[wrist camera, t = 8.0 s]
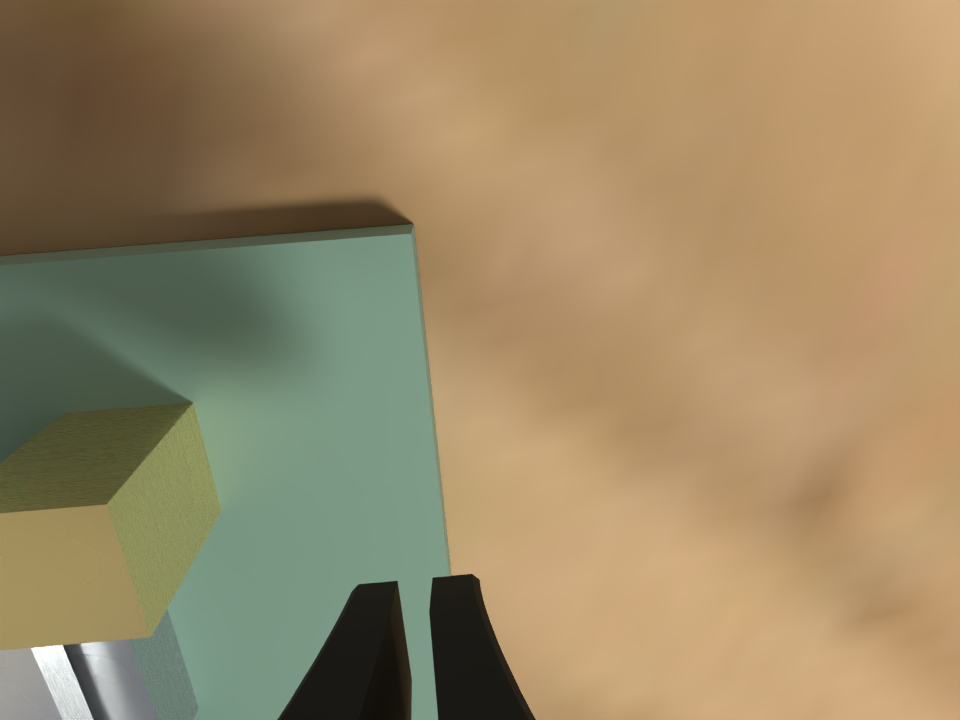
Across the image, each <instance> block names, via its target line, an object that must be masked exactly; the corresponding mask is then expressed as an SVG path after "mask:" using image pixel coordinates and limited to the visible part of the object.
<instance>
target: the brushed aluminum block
mask: <svg viewBox="0 0 960 720" xmlns="http://www.w3.org/2000/svg"><path fill="white" fill-rule="evenodd" d="M63 647H64V650H65V652H66V655H67V657H68V659H69V662H70V664H71V666H72V669H73V671H74V674H75V676H76V678H77V681H78V683H79V686H80V688H81V690H82V693H83V695H84V698H85V700H86V702H87V705H88V707H89V710H90V712H91V714H92V717H93V719H94V720H194V718H195V715H196V713H197V711H198V708H199V706H198V703H197V700H196V697H195V694H194V690H193V687H192V684H191V681H190V678H189V675H188V672H187V669H186V665H185V662H184V659H183V656H182V653H181V650H180V647H179V643H178V640H177V637H176V634H175V631H174V628H173V625H172V621H171V618H170V615H169V612H168V609H167V610H166V612H165V613H164V615H163V617H162V619H161V621H160V622H159V624H158V626H157V628H156V630H155V631H154V633H153V635H152V637H149V638H138V639H126V640H115V641H103V642H92V643H81V644H69V645H63Z"/></svg>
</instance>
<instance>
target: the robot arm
mask: <svg viewBox="0 0 960 720" xmlns="http://www.w3.org/2000/svg"><path fill="white" fill-rule="evenodd" d="M429 615H430V627H431V640H432V652H433V664H434V675H435V687H436V699H437V711H438V720H535V718H534V716H533V714H532V712H531V710H530V709H529V707H528V705H527V703H526V701H525V699H524V697H523V695H522V693H521V691H520V689H519V687H518V685H517V683H516V681H515V679H514V676H513V674H512V672H511V670H510V668H509V666H508V664H507V662H506V660H505V657H504V655H503V653H502V651H501V648H500V646H499V644H498V641H497V639H496V636H495V633H494V631H493V628H492V625H491V623H490V620H489V617H488V614H487V611H486V608H485V605H484V601H483V597H482V593H481V588H480V580H479V579H478V578H476V577H475V576H474V575H473V574H467V575H456V576H445V577H434V578H432V587H431V597H430V609H429ZM411 714H412V677H411V670H410V663H409V656H408V649H407V642H406V635H405V628H404V621H403V614H402V607H401V600H400V593H399V587H398V581H389V582H378V583H367V584H358V585H357V586H356V587H355V588H354V589H353V590H352V592H351V594H350V596H349V598H348V600H347V602H346V604H345V606H344V608H343V610H342V612H341V614H340V616H339V618H338V620H337V621H336V623H335V625H334V627H333V629H332V631H331V632H330V634H329V636H328V638H327V640H326V641H325V643H324V645H323V647H322V648H321V650H320V652H319V654H318V655H317V657H316V659H315V660H314V662H313V664H312V665H311V667H310V669H309V670H308V672H307V673H306V675H305V677H304V678H303V680H302V682H301V683H300V685H299V686H298V688H297V690H296V691H295V693H294V695H293V696H292V698H291V699H290V701H289V703H288V704H287V706H286V707H285V709H284V710H283V712H282V713H281V715H280V716H279V718H278V719H277V720H411Z"/></svg>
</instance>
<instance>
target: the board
mask: <svg viewBox="0 0 960 720" xmlns="http://www.w3.org/2000/svg"><path fill="white" fill-rule="evenodd" d="M181 403H194V407H195V410H196V414H197V418H198V422H199V426H200V430H201V434H202V437H203V441H204V445H205V449H206V453H207V457H208V461H209V464H210V468H211V472H212V476H213V480H214V484H215V487H216V491H217V495H218V499H219V503H220V507H221V513H220V515H219V516H218V518H217V520H216V522H215V524H214V525H213V527H212V529H211V531H210V533H209V534H208V536H207V538H206V540H205V542H204V543H203V545H202V547H201V549H200V551H199V552H198V554H197V556H196V558H195V560H194V561H193V563H192V565H191V567H190V568H189V570H188V572H187V574H186V576H185V577H184V579H183V581H182V583H181V585H180V586H179V588H178V590H177V592H176V594H175V595H174V597H173V599H172V601H171V603H170V604H169V606H168V608H167V609H168V612H169V615H170V618H171V621H172V625H173V628H174V631H175V634H176V637H177V640H178V643H179V647H180V650H181V653H182V656H183V659H184V662H185V665H186V669H187V672H188V675H189V678H190V681H191V684H192V687H193V690H194V694H195V697H196V700H197V703H198V706H199V708H198V711H197V713H196V715H195V718H194V720H277V719H278V718H279V716H280V715H281V713H282V712H283V710H284V709H285V707H286V706H287V704H288V703H289V701H290V699H291V698H292V696H293V695H294V693H295V691H296V690H297V688H298V686H299V685H300V683H301V682H302V680H303V678H304V677H305V675H306V673H307V672H308V670H309V669H310V667H311V665H312V664H313V662H314V660H315V659H316V657H317V655H318V654H319V652H320V650H321V648H322V647H323V645H324V643H325V641H326V640H327V638H328V636H329V634H330V632H331V631H332V629H333V627H334V625H335V623H336V621H337V620H338V618H339V616H340V614H341V612H342V610H343V608H344V606H345V604H346V602H347V600H348V598H349V596H350V594H351V592H352V590H353V589H354V588H355V587H356V586H357V585H358V584H367V583H378V582H389V581H398V587H399V593H400V600H401V607H402V614H403V621H404V628H405V635H406V642H407V649H408V656H409V663H410V670H411V677H412V714H411V720H438V711H437V699H436V687H435V675H434V664H433V652H432V640H431V627H430V615H429V609H430V597H431V587H432V578H434V577H445V576H451V568H450V559H449V549H448V540H447V530H446V521H445V512H444V502H443V493H442V483H441V474H440V465H439V455H438V446H437V436H436V427H435V418H434V408H433V399H432V389H431V380H430V371H429V361H428V352H427V342H426V333H425V324H424V314H423V305H422V295H421V286H420V277H419V267H418V258H417V248H416V239H415V230H414V224H407V225H394V226H381V227H368V228H355V229H342V230H329V231H316V232H303V233H290V234H278V235H265V236H252V237H239V238H226V239H213V240H200V241H187V242H174V243H161V244H148V245H135V246H122V247H109V248H96V249H83V250H71V251H58V252H45V253H32V254H19V255H6V256H0V463H2V462H3V461H4V460H5V459H7V458H8V457H9V456H10V455H12V454H13V453H14V452H15V451H17V450H18V449H19V448H20V447H22V446H23V445H24V444H25V443H27V442H28V441H29V440H30V439H32V438H33V437H34V436H35V435H37V434H38V433H39V432H40V431H41V430H43V429H44V428H45V427H46V426H48V425H49V424H50V423H51V422H53V421H54V420H55V419H56V418H58V417H59V416H60V415H61V414H63V413H70V412H83V411H95V410H107V409H119V408H132V407H144V406H156V405H169V404H181Z"/></svg>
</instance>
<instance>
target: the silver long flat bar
mask: <svg viewBox="0 0 960 720" xmlns="http://www.w3.org/2000/svg"><path fill="white" fill-rule="evenodd" d="M0 720H94V719H93V717H92V714H91V712H90V710H89V707H88V705H87V702H86V700H85V698H84V695H83V693H82V690H81V688H80V686H79V683H78V681H77V678H76V676H75V674H74V671H73V669H72V666H71V664H70V662H69V659H68V657H67V655H66V652H65V650H64V647H63V645H58V646H46V647H35V648H23V649H12V650H1V651H0Z"/></svg>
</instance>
